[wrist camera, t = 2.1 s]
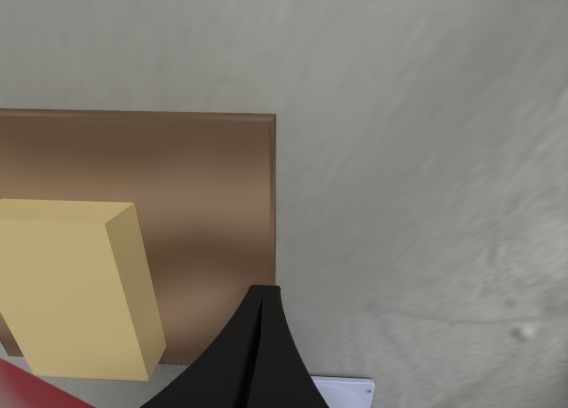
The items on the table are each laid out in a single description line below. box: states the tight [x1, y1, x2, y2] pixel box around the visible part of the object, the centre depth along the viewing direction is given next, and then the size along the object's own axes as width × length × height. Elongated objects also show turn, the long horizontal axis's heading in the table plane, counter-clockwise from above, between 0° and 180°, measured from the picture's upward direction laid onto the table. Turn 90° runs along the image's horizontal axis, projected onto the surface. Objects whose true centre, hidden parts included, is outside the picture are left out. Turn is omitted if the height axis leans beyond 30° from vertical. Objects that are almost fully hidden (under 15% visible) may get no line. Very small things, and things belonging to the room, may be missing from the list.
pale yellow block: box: [0, 199, 166, 381], centre depth 13 cm, size 9×6×2 cm, turn 179°
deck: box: [0, 108, 276, 365], centre depth 15 cm, size 14×16×4 cm
